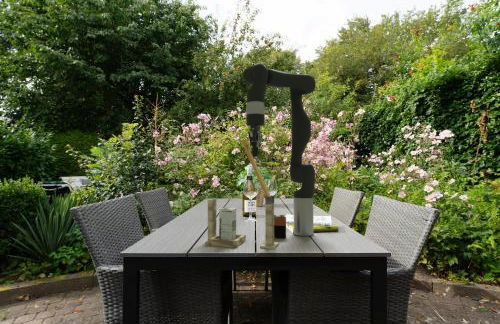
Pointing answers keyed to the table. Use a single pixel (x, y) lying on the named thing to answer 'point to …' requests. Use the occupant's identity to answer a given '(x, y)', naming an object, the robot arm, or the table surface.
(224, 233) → the syrup box
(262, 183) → the tan wooden bar
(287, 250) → the table surface
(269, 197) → the clamp rig
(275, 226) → the battery
